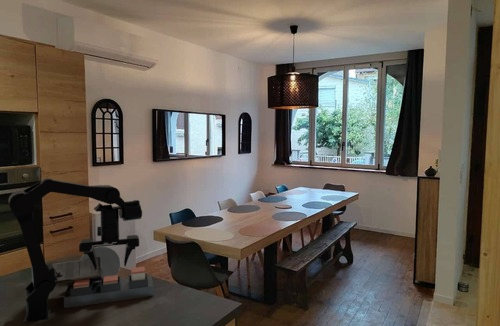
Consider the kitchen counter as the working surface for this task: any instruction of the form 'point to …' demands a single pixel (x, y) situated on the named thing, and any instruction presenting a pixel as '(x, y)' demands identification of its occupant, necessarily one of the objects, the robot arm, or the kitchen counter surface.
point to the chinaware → (106, 261)
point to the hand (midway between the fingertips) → (110, 267)
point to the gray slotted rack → (108, 292)
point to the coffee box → (77, 272)
